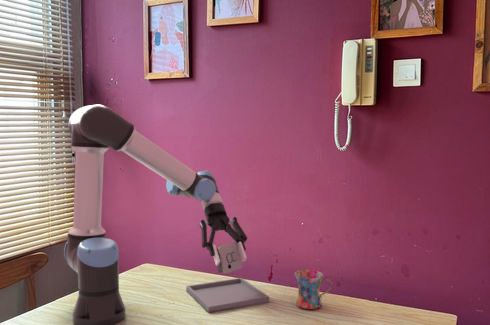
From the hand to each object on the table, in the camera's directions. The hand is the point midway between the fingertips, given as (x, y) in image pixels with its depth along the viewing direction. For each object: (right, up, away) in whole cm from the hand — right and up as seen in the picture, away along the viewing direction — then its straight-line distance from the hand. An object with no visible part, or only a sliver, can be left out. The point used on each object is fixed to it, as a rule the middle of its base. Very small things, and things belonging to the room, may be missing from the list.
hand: (231, 261), depth 152 cm
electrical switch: (-1, -4, +3) cm, 5 cm away
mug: (+27, -14, -5) cm, 30 cm away
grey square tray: (-2, -13, +3) cm, 13 cm away
